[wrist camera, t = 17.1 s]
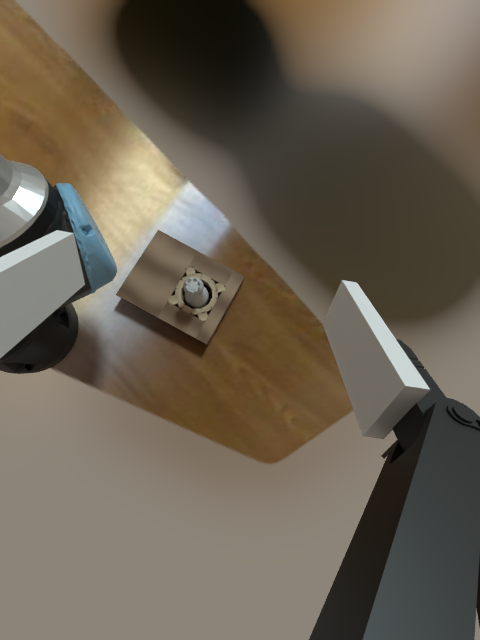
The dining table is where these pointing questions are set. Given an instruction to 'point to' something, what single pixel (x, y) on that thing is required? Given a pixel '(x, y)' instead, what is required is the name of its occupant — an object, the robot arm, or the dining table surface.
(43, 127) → the dining table surface
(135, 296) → the socket board
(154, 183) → the dining table surface
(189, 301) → the rook chess piece
